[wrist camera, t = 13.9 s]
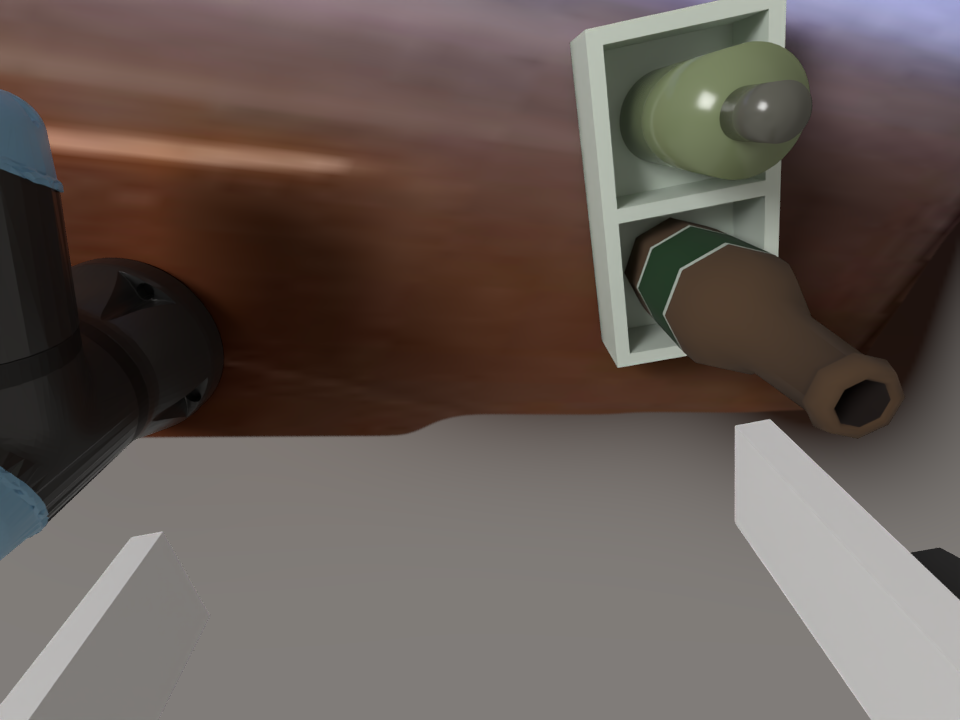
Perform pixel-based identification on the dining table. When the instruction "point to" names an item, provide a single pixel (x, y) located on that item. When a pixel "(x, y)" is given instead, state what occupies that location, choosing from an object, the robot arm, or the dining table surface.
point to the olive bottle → (719, 111)
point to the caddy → (651, 187)
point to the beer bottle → (757, 324)
